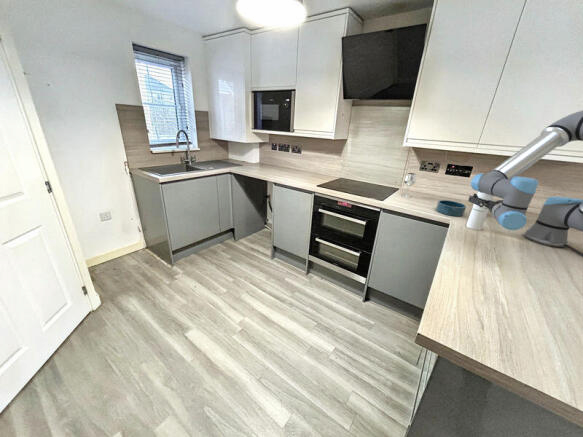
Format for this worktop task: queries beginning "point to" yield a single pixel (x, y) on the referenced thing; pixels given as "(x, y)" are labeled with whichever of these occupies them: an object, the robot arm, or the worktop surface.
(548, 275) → the worktop surface
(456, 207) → the bowl
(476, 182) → the robot arm
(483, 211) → the cylindrical container
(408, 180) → the wineglass
